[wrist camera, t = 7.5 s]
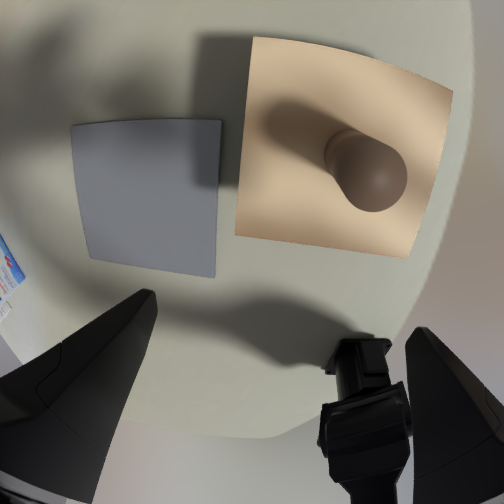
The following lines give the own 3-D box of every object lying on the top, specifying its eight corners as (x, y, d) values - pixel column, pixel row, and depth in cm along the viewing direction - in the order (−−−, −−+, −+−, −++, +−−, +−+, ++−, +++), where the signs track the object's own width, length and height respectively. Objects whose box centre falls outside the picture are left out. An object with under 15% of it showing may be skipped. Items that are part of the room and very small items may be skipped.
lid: (401, 250, 16) (431, 300, 12) (237, 227, 17) (222, 277, 12) (444, 90, 10) (498, 97, 6) (255, 40, 11) (243, 12, 6)
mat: (215, 275, 24) (214, 278, 23) (92, 256, 24) (90, 258, 24) (222, 120, 17) (221, 120, 16) (73, 126, 17) (70, 126, 17)
